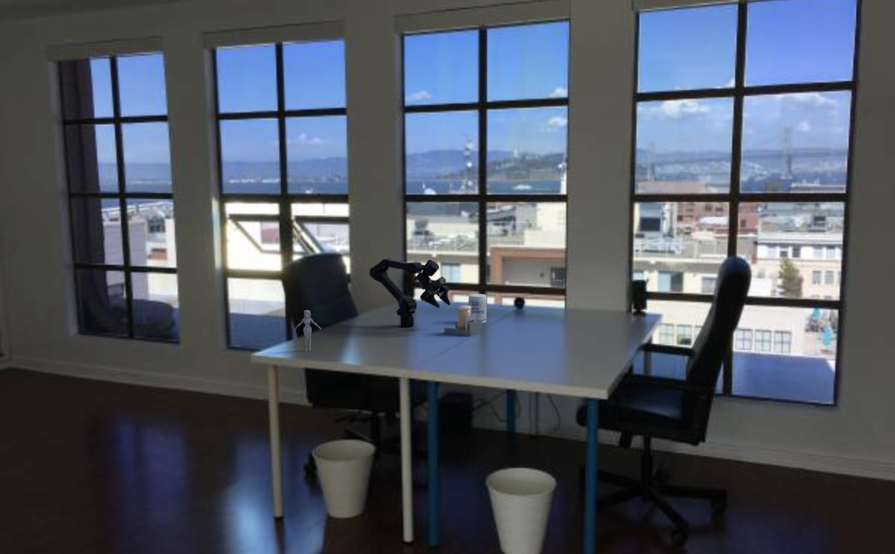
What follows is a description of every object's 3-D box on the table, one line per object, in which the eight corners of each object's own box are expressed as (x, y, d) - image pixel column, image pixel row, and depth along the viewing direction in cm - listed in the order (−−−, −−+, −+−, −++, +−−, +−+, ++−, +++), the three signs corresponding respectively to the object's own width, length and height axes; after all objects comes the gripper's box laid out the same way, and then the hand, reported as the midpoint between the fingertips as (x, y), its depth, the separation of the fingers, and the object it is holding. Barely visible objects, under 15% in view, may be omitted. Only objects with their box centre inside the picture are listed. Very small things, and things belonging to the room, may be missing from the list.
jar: (459, 334, 343) (459, 307, 341) (456, 331, 349) (456, 305, 348) (472, 333, 344) (472, 307, 343) (469, 330, 351) (469, 305, 349)
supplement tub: (471, 324, 368) (471, 297, 366) (465, 321, 377) (465, 294, 375) (489, 323, 371) (489, 295, 369) (483, 320, 380) (482, 293, 378)
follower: (465, 334, 342) (465, 315, 340) (474, 331, 349) (474, 313, 347) (467, 334, 341) (467, 316, 340) (476, 331, 348) (476, 313, 347)
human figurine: (294, 351, 314) (292, 311, 311) (295, 349, 317) (293, 310, 315) (321, 350, 315) (320, 310, 313) (322, 348, 319) (320, 309, 316)
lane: (444, 333, 347) (444, 320, 346) (456, 329, 356) (456, 317, 355) (470, 337, 339) (470, 323, 338) (482, 333, 348) (482, 320, 347)
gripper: (424, 274, 345) (443, 298, 340) (446, 270, 360) (464, 293, 356) (411, 288, 350) (430, 312, 346) (433, 284, 365) (451, 307, 361)
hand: (444, 306), depth 352 cm, fingers open, 9 cm apart
